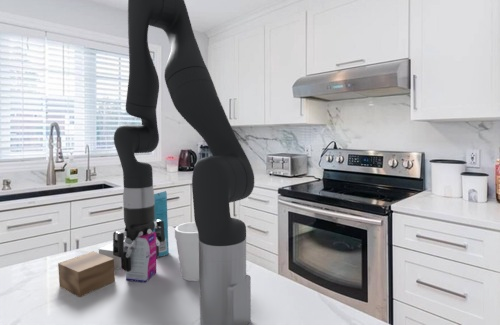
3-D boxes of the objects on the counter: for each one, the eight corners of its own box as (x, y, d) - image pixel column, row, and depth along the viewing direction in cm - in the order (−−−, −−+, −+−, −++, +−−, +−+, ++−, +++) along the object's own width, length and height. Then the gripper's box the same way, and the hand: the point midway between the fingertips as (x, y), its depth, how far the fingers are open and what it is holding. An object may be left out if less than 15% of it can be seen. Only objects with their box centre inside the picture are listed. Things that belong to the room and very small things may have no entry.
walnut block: (115, 281, 80) (113, 258, 80) (79, 297, 73) (78, 272, 72) (94, 272, 85) (93, 251, 85) (59, 286, 78) (58, 263, 77)
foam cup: (168, 277, 83) (167, 228, 81) (194, 264, 90) (193, 220, 89) (194, 287, 77) (193, 235, 76) (219, 273, 85) (219, 226, 83)
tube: (161, 248, 102) (159, 190, 100) (173, 250, 101) (172, 191, 99) (146, 257, 95) (143, 194, 94) (159, 259, 94) (157, 195, 92)
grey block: (136, 259, 94) (135, 243, 93) (119, 269, 87) (119, 251, 87) (117, 256, 96) (116, 240, 96) (99, 266, 89) (98, 249, 89)
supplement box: (146, 283, 80) (145, 238, 78) (125, 280, 81) (123, 237, 80) (157, 272, 85) (156, 231, 84) (137, 270, 86) (136, 230, 85)
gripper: (123, 211, 73) (126, 279, 75) (170, 200, 85) (172, 258, 87) (104, 207, 77) (107, 271, 79) (151, 197, 89) (153, 252, 91)
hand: (141, 264), depth 83 cm, fingers open, 8 cm apart
